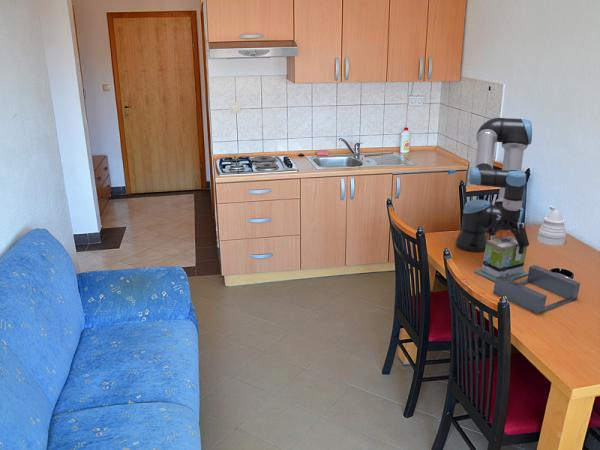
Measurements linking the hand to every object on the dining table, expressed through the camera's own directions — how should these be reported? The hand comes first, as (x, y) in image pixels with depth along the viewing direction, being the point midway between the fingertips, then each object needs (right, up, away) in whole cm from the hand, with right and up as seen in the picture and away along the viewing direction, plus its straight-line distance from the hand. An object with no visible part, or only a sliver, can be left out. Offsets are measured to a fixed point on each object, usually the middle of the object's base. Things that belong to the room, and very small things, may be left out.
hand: (504, 254), depth 232 cm
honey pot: (+40, +4, +42) cm, 58 cm away
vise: (+9, -15, -15) cm, 23 cm away
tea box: (0, -8, +2) cm, 8 cm away
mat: (0, -9, +3) cm, 9 cm away
